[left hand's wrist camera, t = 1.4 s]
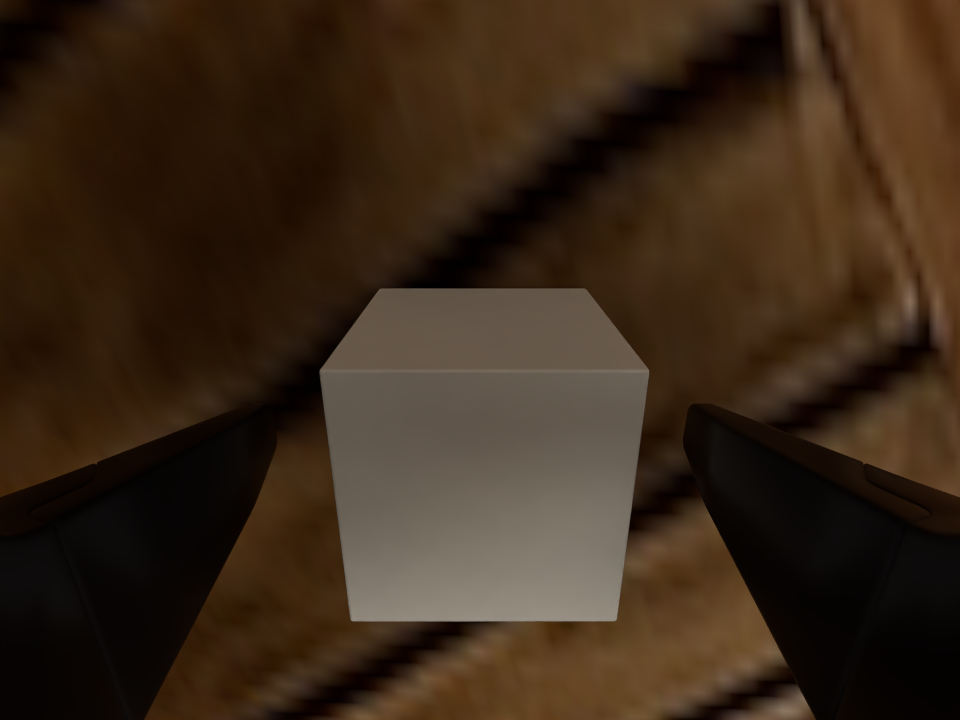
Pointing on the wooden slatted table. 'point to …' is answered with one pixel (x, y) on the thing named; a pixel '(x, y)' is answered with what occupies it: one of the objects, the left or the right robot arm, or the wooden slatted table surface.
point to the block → (484, 455)
